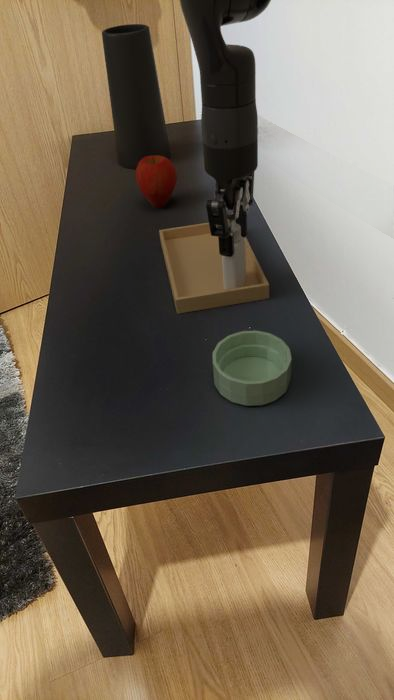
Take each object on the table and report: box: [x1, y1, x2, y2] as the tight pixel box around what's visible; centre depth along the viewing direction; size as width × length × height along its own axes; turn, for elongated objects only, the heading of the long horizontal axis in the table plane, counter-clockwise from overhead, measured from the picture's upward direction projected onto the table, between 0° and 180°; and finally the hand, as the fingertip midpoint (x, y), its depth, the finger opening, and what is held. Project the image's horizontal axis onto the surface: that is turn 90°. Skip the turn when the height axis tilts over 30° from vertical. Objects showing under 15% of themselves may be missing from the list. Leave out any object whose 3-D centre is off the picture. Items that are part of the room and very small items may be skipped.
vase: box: [101, 23, 172, 170], centre depth 122 cm, size 14×14×29 cm
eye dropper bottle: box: [222, 221, 246, 290], centre depth 81 cm, size 4×6×12 cm
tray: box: [158, 220, 270, 315], centre depth 90 cm, size 23×15×3 cm, turn 10°
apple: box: [135, 155, 178, 209], centre depth 107 cm, size 9×8×11 cm
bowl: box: [212, 330, 293, 407], centre depth 68 cm, size 10×10×4 cm
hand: (233, 244), depth 80 cm, fingers closed on eye dropper bottle, 5 cm apart
